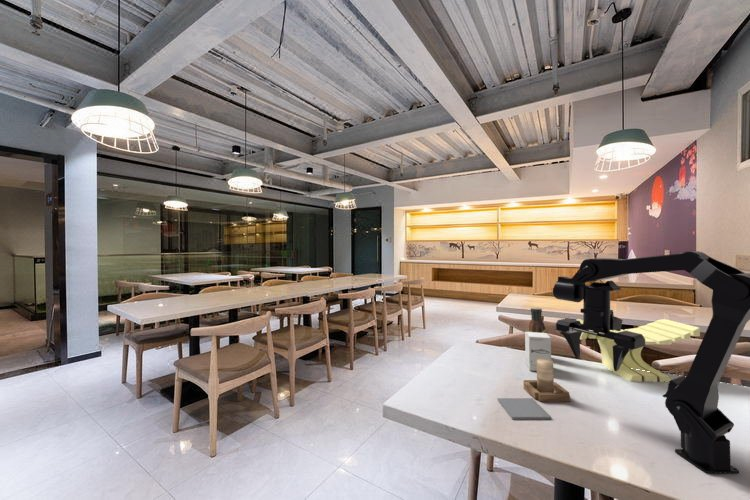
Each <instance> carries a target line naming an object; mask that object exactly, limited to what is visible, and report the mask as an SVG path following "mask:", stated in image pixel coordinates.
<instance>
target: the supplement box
mask: <svg viewBox="0 0 750 500" xmlns="http://www.w3.org/2000/svg"><path fill="white" fill-rule="evenodd" d="M524 336H525V337H524V339H525V341H524V342H525V343H524V345H525V346H524V348H525V349H524V350H525V355H524V356H525V365H526V367H527V369H528V371H529V372H537V359H539V358H544V359H549V360H552V337H551V336H550V335H549V334H548V333H547V332H546V333H537V332H529V331H525V332H524Z"/></svg>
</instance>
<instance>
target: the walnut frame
mask: <svg viewBox="0 0 750 500" xmlns="http://www.w3.org/2000/svg"><path fill="white" fill-rule="evenodd" d="M523 390H524V391H525V392H526V393H528V395H529V396H531V398H532V399H534V400H537V401H538V402H539V403H553V402H554V403H570V402H571V394H570V392H569V391H568V390H567V389H565V388H564V387H563V386H561V385H560V384H558V383H557V382H555V381H554V392H545V393H540V392H539V391H538V390H537V379H533V380H532V379H529V380H526V379H524V380H523Z"/></svg>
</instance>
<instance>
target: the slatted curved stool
mask: <svg viewBox="0 0 750 500" xmlns="http://www.w3.org/2000/svg"><path fill="white" fill-rule="evenodd" d="M576 320H578V321H580V323H581V324H583V319H580V318H576ZM589 331H592V330H589ZM610 331H611V332H616V333H618V332H622V331H629V332H634V333H638V334H642V335H643V337H644V338H645V346H647V345H660V346H661V345H663V346H665V345H666V346H670V345H672V344H673V343H672V342H674V343H682V340H692V339H691V337H701V329H700V327H699V326H695V325H690V324H686V323H682V322H679V321H674V320H672V319H667V318H666V319H665V318H662V319H657V320H654V322H649V323H646V324H645V325H640V326H639V325H638V327H634V328H625V329H621V331H616V330H610ZM599 333H600V332H599ZM602 334H604V333H602ZM587 339H591V340H592V339H593V340H597V343H598V345H599V348H600V352H601V364H602V366H603V365H604V366H606V367H607V368H609V369H610V370H609V369H608V370H609V371H611V372H612V371H613V372H612V373H613V374H616V375H618V376H619V377H621V378H623V379H625V380H626V381H628V382H638V383H639V382H645V381H646V382H647V381H650V383H658V382H659V381H663V382H662V383H669V381H670V380H672V379H671V376H669V375H667V374H665V373H663V372H662V371H659V370H657V369H655V368H654V367H652V366H650V365H649V364H648V363H647V362H645V361H644V360H643V358H642V356H641V355H642V350H643V349H644V347H645V346H643V347H640V348H637V349H633V350H630V351H629V352H628V353H627V355H626V356H625V358H624V360H623V362H622V364H621V366H620V368H619V370H618V371H614V367H613V346H614V345H617V344H616V343H615V342H614V340H613V339H608V338H604V337H600V336H596V335H592V334H588V333H584V332H582V334H581V336H580V341H581V340H587ZM604 366H603V367H604ZM607 368H606V369H607ZM631 368H633V369H631ZM636 369H640V370H636ZM642 370H645V371H642ZM647 371H650V372H647ZM651 381H653V382H651ZM664 381H665V382H664ZM647 383H648V382H647Z"/></svg>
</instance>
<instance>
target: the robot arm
mask: <svg viewBox="0 0 750 500" xmlns="http://www.w3.org/2000/svg"><path fill="white" fill-rule="evenodd" d="M675 271H685V272H687V273H688V274H690V275H691V276H692V277H693V278H694V279H695V280H696V281H698V282H699V283H700V284H702V285H704V286H706V287H708V289H711V290H712V293H711V295H712V296H711V309H712V311H711V312H712V317H711V319H710V321H709V324H708V326H707V328H706V331H705V333H704V336H703V337H702V340H701V342H700V344H699V347H698V349H697V350H696V351H697V352H696V354H695V356H694V359H693V361H692V363H691V366H690V368H689V369H688V373H687V375H681V376H678V377H676V378H673V379H671V380H670V381H669V382H668V385H667V390H666V392H665V393H664V394H663V395H662V397H663V398H666V399H665V401H664V404H665V405H664V406H665V408H666V409H667V410H668V412H669V414H670V415H671V416H672V417H673V418H674V421H675V423H676V426H677V427H678V431H679V432H680V447H681V448H675V449H674V452H675V454H677V455H679V456H680V457H682V458H684V460H686V461H687V462H689V463H690V464H692V465H693V466H695V467H696V468H697V469H699V470H701V471H702V472H704V473H706V474H740V469H738V468H737V467H735V466H733V465H732V463H731V441H730V440H729V439H728V438H727V436H726V434H728V433H730V432H732V430H733V428H734V427H735V424H734V422H732V421H731V420H730V418H729V417H728V416H726V415H725V414H724V413H723V411H721V409H719V407H718V406H719V398H720V394H719V388H718V386H719V383H720V380H721V379H722V376H723V374H724V372H725V369H726V368H727V366H728V363H729V360H730V358H731V357H732V355H733V353H734V350H735V349H736V346H737V344H738V342H739V339H740V337H741V335H742V333H743V332H744V331H743V330H745V329H744V328H745V326H746V325H747V323H748V322H749V321H750V272H744V271H742V270H740V269H738V268H736V267H734V266H732V265H729V264H727V263H726V262H725V263H724V262H723V261H720V260H717V259H715V258H713V257H711V256H709V255H708V254H706V253H704V252H703V251H699V250H697V251H695V250H693V251H683V252H680V253H672V254H660V255H653V256H652V255H651V256H645V257H643V256H642V257H635V258H625V259H624V258H609V257H602V258H601V257H600V258H599V257H598V258H594V257H593V258H587V259H586V258H585V259H584V260H582V262H581V263H580V266H579V269H578V270H577V272H575V273H574V275H573V276H572V277H568V276H558V277H557V281H556V282H555V283H554V285H553V287H552V294H553V297H554V298H555V299H557V300H561V301H566V302H573V303H581V302H583V304H582V305H583V308H580V313H581V314H583V318H582V320H583V324H581V323H580V321H578V320H577V319H573V318H572V319H571V318H562V319H558V320H557V321H556V323H555V330H556V331H559V334H560V335H562V336H563V338H564V339H565V340H566V342H567V343H568V345H569V348H570V349H571V351H572V353H573V355H574V358H575V359H577V360H579V359H580V357H581V339H580V336H581V334H582V332H584V333H588V334H592V335H596V336H600V337H604V338H608V339H613V340H614V342H615V343H616V344H617V345H614V346H613V367H614V371H618V370H619V368H620V366H621V364H622V362H623V360H624V358H625V356H626V355H627V353H628V352H629V351H630V350H633V349H637V348H640V347H643V346H644V347H645V346H646V345H645V338H644V337H643V335H642V334H638V333H634V332H629V331H622V332H618V333H616V332H611V331H610V330H616V331H621V330H622V325H623V321H624V320H623V319H621V318H619V317H617V316H615V315H614V311H613V309H611V292H616V291H620V290H621V289H622V288H621V287H620V286H619V285H618V284H616V283H615V282H614V281H613V280H610V279H615V278H619V277H623V276H626V275H630V274H631V275H632V274H644V273H645V274H646V273H660V272H661V273H663V272H675ZM601 280H607V281H606V282H597V281H601ZM586 283H590V284H586ZM589 330H592V331H589ZM599 332H600V333H599ZM602 333H604V334H602ZM644 347H643V348H644Z"/></svg>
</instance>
